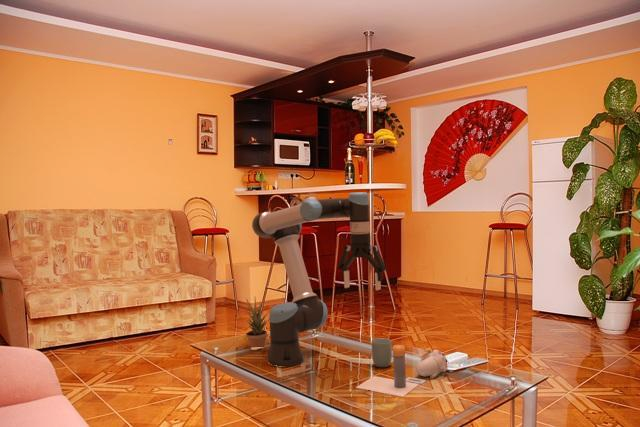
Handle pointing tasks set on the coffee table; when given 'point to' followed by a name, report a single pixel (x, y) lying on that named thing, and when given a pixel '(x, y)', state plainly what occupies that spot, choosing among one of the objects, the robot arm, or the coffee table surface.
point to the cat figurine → (431, 364)
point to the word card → (415, 380)
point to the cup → (381, 352)
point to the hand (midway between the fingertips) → (362, 288)
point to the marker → (399, 366)
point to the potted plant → (256, 328)
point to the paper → (386, 386)
